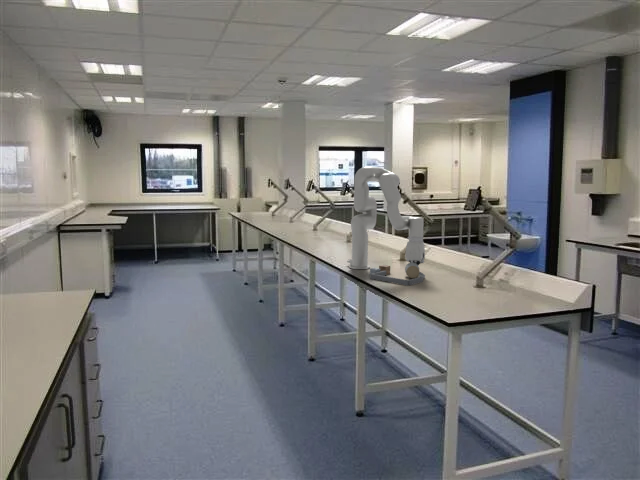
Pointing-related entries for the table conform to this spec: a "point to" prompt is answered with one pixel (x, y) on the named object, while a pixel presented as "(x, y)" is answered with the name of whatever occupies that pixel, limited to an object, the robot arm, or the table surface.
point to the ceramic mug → (413, 270)
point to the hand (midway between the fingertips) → (414, 272)
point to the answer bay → (395, 280)
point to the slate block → (374, 270)
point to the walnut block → (385, 268)
